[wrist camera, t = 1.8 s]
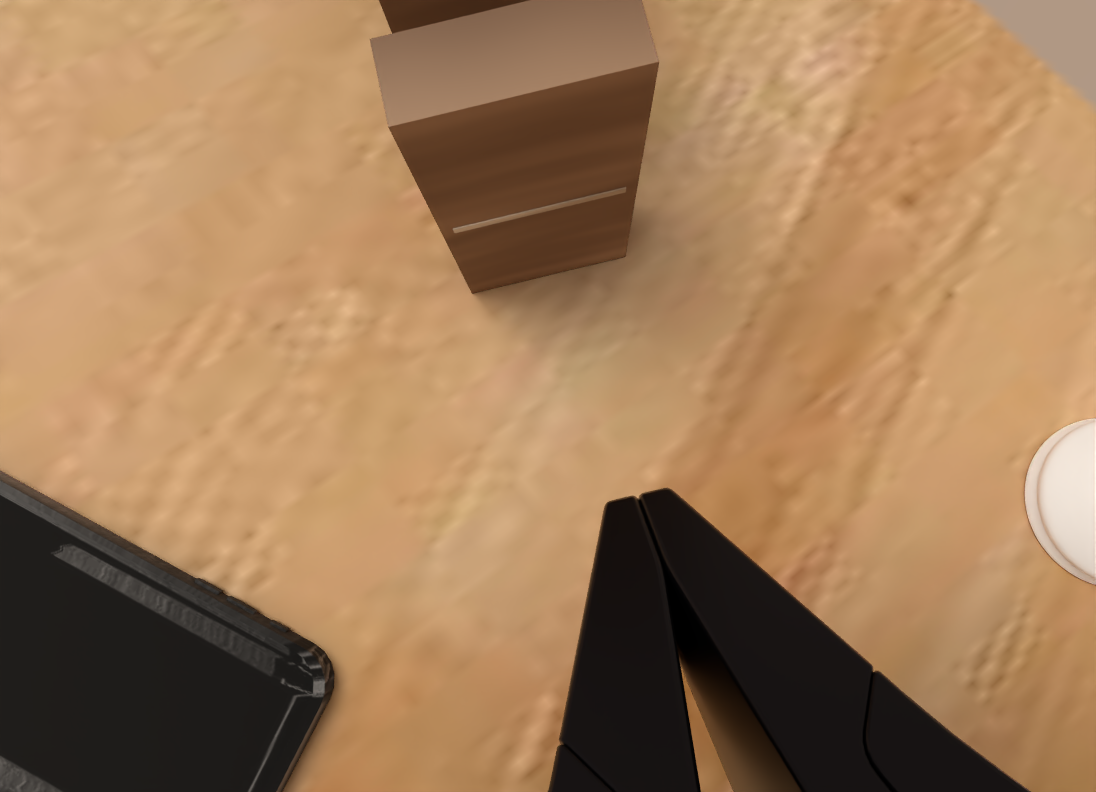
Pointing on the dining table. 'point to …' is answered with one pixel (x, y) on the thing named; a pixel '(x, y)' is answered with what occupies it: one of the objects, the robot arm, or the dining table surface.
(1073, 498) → the chess piece
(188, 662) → the phone
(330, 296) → the dining table surface
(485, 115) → the domino
